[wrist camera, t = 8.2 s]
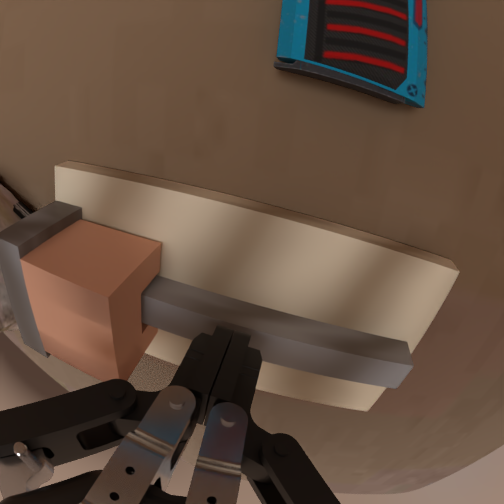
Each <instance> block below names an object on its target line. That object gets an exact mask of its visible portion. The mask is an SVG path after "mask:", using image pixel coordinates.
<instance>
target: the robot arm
mask: <svg viewBox="0 0 504 504" xmlns="http://www.w3.org/2000/svg"><path fill="white" fill-rule="evenodd" d="M233 332H234V330H233V329H230V328H226V327H223V326H220V325H217V326H216V329H215V331H214V333H213V335H208V334H205V333H201V334H199V335H198V336H197V337H195V338H194V339H193V340H192V342H191V344H190V346H189V349H188V350H187V352H186V354H185V357H184V358H183V360H182V362H181V364H180V366H179V368H178V370H177V372H176V374H175V376H174V378H173V379H172V381H171V383H170V384H169V386H167V387H166V388H164V389H163V390H160V391H156V392H147V391H138V390H135V388H134V387H133V385H132V384H131V383H129V382H128V381H126V380H123V379H111V380H108V381H105V382H102V383H99V384H95V385H92V386H89V387H86V388H83V389H79V390H76V391H73V392H70V393H66V394H63V395H59V396H56V397H53V398H49V399H46V400H42V401H38V402H34V403H31V404H27V405H23V406H19V407H15V408H12V409H7V410H3V411H0V491H1V493H2V496H3V500H2V501H1V502H0V504H236V502H237V497H238V491H239V486H240V480H241V473H243V474H245V475H246V476H247V479H248V481H249V482H250V484H251V486H252V488H253V490H254V491H255V493H256V494H257V496H258V498H259V500H260V501H261V503H262V504H340V502H339V501H338V499H337V498H336V497H335V495H334V494H333V492H332V491H331V490H330V488H329V487H328V485H327V484H326V483H325V481H324V480H323V478H322V477H321V475H320V474H319V473H318V471H317V470H316V468H315V467H314V465H313V464H312V462H311V461H310V459H309V458H308V456H307V455H306V453H305V452H304V451H303V449H302V448H301V446H300V445H299V443H298V442H297V440H295V439H294V438H293V437H292V436H290V435H287V434H283V433H277V434H270V433H268V432H266V431H265V430H263V429H261V428H260V427H258V426H257V425H256V424H255V422H254V421H253V419H252V417H251V414H250V408H251V404H252V400H253V396H254V392H255V389H256V385H257V381H258V377H259V373H260V369H261V365H262V361H263V360H262V356H261V352H260V350H258V349H254V348H251V347H248V345H249V341H250V338H251V335H250V334H246V333H243V332H240V331H236V330H235V332H234V334H233ZM232 336H233V337H232ZM205 416H206V418H205ZM204 419H205V422H204ZM203 422H204V425H205V426H206V429H205V432H204V436H203V440H202V444H201V448H200V451H199V455H198V459H197V462H196V465H195V469H194V473H193V477H192V481H191V485H190V488H189V491H188V495H187V497H183V496H175V495H170V494H168V493H166V492H165V491H166V489H167V487H168V484H169V482H170V479H171V476H172V473H173V471H174V469H175V467H176V465H177V464H178V462H179V460H180V458H181V456H182V454H183V452H184V450H185V448H186V446H187V444H188V442H189V440H190V438H191V436H192V434H193V431H194V429H195V426H196V424H197V423H198V424H201V425H202V424H203ZM118 445H119V446H118ZM115 446H118V448H117V449H116V451H115V452H114V454H113V455H112V457H111V458H110V460H109V462H108V463H107V465H106V466H105V468H104V469H103V470H95V471H91V472H87V473H84V474H81V475H78V476H76V477H73V478H70V479H67V480H64V481H61V482H58V483H55V484H51V485H48V486H45V487H42V488H39V486H40V485H41V484H43V483H45V482H47V481H49V480H50V479H51V477H52V476H53V473H54V466H58V465H61V464H64V463H67V462H71V461H74V460H77V459H81V458H84V457H87V456H90V455H93V454H96V453H98V452H101V451H104V450H107V449H110V448H112V447H115Z"/></svg>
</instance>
